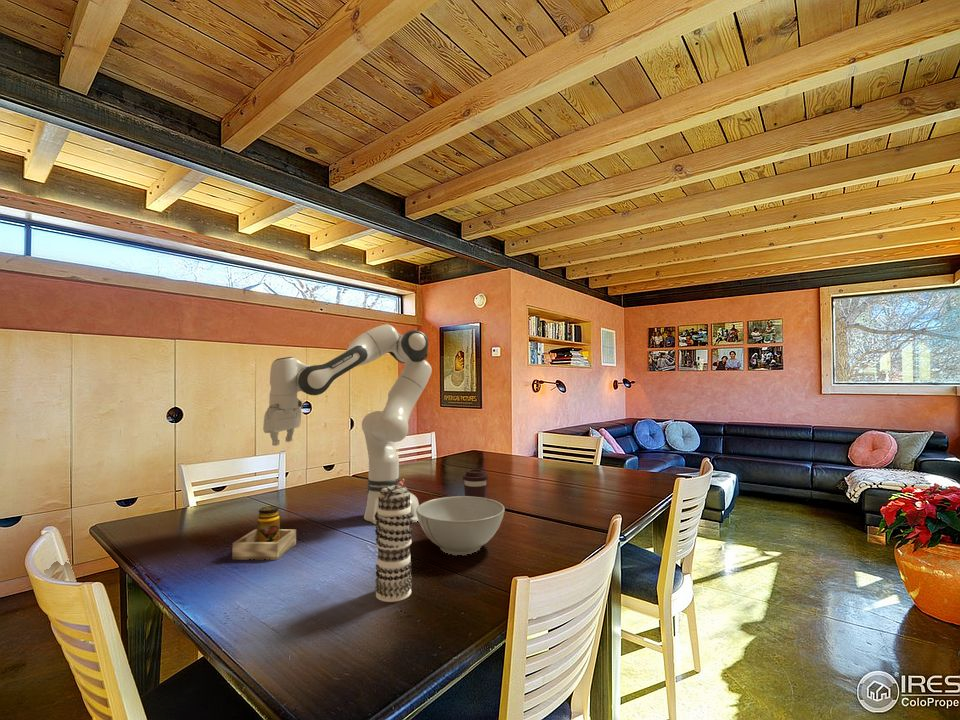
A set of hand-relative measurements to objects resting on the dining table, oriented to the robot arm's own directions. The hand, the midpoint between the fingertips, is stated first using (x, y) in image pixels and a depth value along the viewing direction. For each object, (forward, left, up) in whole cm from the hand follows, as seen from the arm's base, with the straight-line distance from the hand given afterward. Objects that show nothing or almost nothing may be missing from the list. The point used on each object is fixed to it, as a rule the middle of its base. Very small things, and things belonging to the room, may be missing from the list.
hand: (282, 443), depth 153 cm
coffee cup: (-66, -24, -29) cm, 76 cm away
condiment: (-5, +20, -28) cm, 35 cm away
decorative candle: (-49, +45, -29) cm, 73 cm away
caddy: (-5, +20, -29) cm, 36 cm away
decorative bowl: (-63, +16, -29) cm, 71 cm away
